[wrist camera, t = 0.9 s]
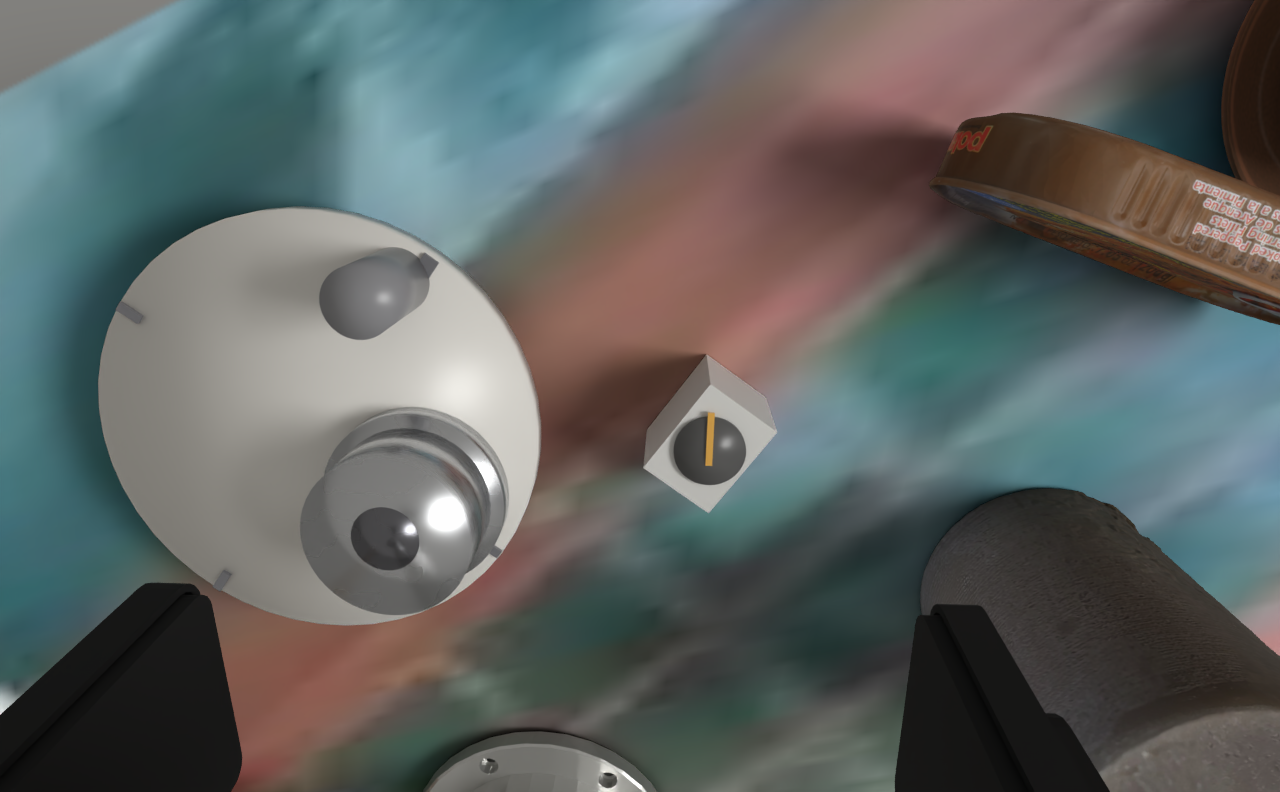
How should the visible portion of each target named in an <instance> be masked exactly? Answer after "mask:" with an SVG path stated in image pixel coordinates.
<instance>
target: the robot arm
mask: <svg viewBox="0 0 1280 792" xmlns="http://www.w3.org/2000/svg"><path fill="white" fill-rule="evenodd" d="M241 766H242V752H241V747H240V742H239V737H238V732H237V727H236V722H235V717H234V712H233V707H232V702H231V697H230V692H229V687H228V682H227V677H226V672H225V667H224V662H223V657H222V653H221V648H220V643H219V638H218V633H217V628H216V623H215V618H214V613H213V608H212V604H211V601H210V599H209V598H208V597H207V596H205V595H200V592H199V590H198V589H197V587H196V586H194V585H192V584H181V583H147V584H144V585H143V586H141V587H140V588H138V589H137V590H136V591H135V592H134V593H133V594H132V595H131V596H130V597H129V598H128V599H126V600H125V601H124V602H123V603H122V604H121V605H120V606H119V607H118V608H117V609H115V610H114V611H113V612H112V613H111V614H110V615H109V616H108V617H107V618H106V619H105V620H103V621H102V622H101V623H100V624H99V625H98V626H97V627H96V628H95V629H94V630H93V631H91V632H90V633H89V634H88V635H87V636H86V637H85V638H84V639H83V640H82V641H81V642H79V643H78V644H77V645H76V646H75V647H74V648H73V649H72V650H71V651H70V652H69V653H67V654H66V655H65V656H64V657H63V658H62V659H61V660H60V661H59V662H58V663H56V664H55V665H54V666H53V667H52V668H51V669H50V670H49V671H48V672H47V673H46V674H44V675H43V676H42V677H41V678H40V679H39V680H38V681H37V682H36V683H35V684H34V685H32V686H31V687H30V688H29V689H28V690H27V691H26V692H25V693H24V694H23V695H22V696H20V697H19V698H18V699H17V700H16V701H15V702H14V703H13V704H12V705H11V706H9V707H8V708H7V709H6V710H5V711H4V712H3V713H2V714H1V715H0V792H231V790H232V789H233V787H234V785H235V784H236V782H237V780H238V777H239V774H240V770H241ZM423 792H657V791H656V789H655V788H654V787H653V785H652V784H651V782H650V781H649V780H648V779H647V778H646V777H645V776H644V775H643V774H642V773H641V772H640V771H639V770H638V769H637V768H636V767H635V766H634V765H632V764H631V763H629V762H628V761H627V760H625V759H624V758H622V757H621V756H619V755H618V754H616V753H615V752H613V751H611V750H609V749H607V748H604V747H602V746H600V745H598V744H596V743H594V742H592V741H588V740H585V739H581V738H578V737H574V736H570V735H567V734H559V733H551V732H542V731H536V732H515V733H510V734H505V735H500V736H495V737H491V738H488V739H486V740H483V741H481V742H478V743H476V744H473V745H471V746H468V747H467V748H465V749H464V750H462V751H460V752H459V753H457V754H456V755H454V756H453V757H451V758H450V759H449V760H448V761H447V762H446V763H444V764H443V765H442V766H441V767H440V768H439V769H438V770H437V771H436V772H435V773H434V775H433V776H432V778H431V779H430V781H429V783H428V784H427V786H426V787H425V789H424V790H423ZM895 792H1110V791H1109V789H1108V787H1107V786H1106V784H1105V782H1104V781H1103V779H1102V777H1101V776H1100V774H1099V773H1098V771H1097V769H1096V768H1095V766H1094V764H1093V763H1092V761H1091V760H1090V758H1089V756H1088V755H1087V753H1086V751H1085V750H1084V748H1083V747H1082V745H1081V743H1080V742H1079V740H1078V738H1077V737H1076V735H1075V734H1074V732H1073V730H1072V729H1071V727H1070V726H1069V725H1068V723H1067V722H1066V721H1065V720H1064V718H1063V717H1061V716H1059V715H1057V714H1056V713H1045V712H1044V710H1043V708H1042V706H1041V705H1040V703H1039V701H1038V700H1037V698H1036V696H1035V694H1034V693H1033V691H1032V689H1031V688H1030V686H1029V684H1028V683H1027V681H1026V679H1025V677H1024V676H1023V674H1022V672H1021V671H1020V669H1019V667H1018V666H1017V664H1016V662H1015V660H1014V659H1013V657H1012V655H1011V654H1010V652H1009V650H1008V649H1007V647H1006V645H1005V643H1004V642H1003V640H1002V638H1001V637H1000V635H999V633H998V631H997V630H996V628H995V626H994V625H993V623H992V621H991V620H990V618H989V616H988V614H987V613H986V611H985V610H984V609H983V607H982V606H979V605H960V604H935V605H934V606H933V607H932V609H931V612H930V615H919V616H918V618H917V620H916V625H915V632H914V640H913V647H912V655H911V662H910V670H909V677H908V685H907V692H906V700H905V707H904V715H903V722H902V730H901V737H900V745H899V752H898V760H897V767H896V774H895Z"/></svg>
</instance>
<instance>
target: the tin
mask: <svg viewBox="0 0 1280 792" xmlns="http://www.w3.org/2000/svg"><path fill="white" fill-rule="evenodd" d="M929 186H930V188H931V189H932V190H933V191H934V192H936V193H937V194H939V195H940V196H941V197H943V198H944V199H946V200H948V201H950V202H951V203H953V204H955V205H958V206H960V207H962V208H964V209H967V210H969V211H971V212H973V213H976V214H979V215H982V216H984V217H986V218H988V219H991V220H993V221H996V222H998V223H1000V224H1003V225H1006V226H1008V227H1011V228H1013V229H1016V230H1018V231H1022V232H1024V233H1026V234H1029V235H1031V236H1034V237H1036V238H1039V239H1042V240H1045V241H1047V242H1050V243H1052V244H1055V245H1057V246H1060V247H1063V248H1065V249H1068V250H1070V251H1073V252H1075V253H1078V254H1081V255H1083V256H1086V257H1088V258H1091V259H1093V260H1096V261H1098V262H1101V263H1104V264H1106V265H1109V266H1111V267H1114V268H1117V269H1119V270H1122V271H1124V272H1127V273H1129V274H1132V275H1134V276H1137V277H1139V278H1142V279H1145V280H1147V281H1150V282H1153V283H1155V284H1158V285H1161V286H1163V287H1166V288H1168V289H1171V290H1174V291H1176V292H1179V293H1182V294H1185V295H1188V296H1191V297H1194V298H1197V299H1200V300H1202V301H1205V302H1208V303H1210V304H1213V305H1216V306H1219V307H1222V308H1225V309H1228V310H1231V311H1234V312H1238V313H1241V314H1244V315H1247V316H1250V317H1254V318H1257V319H1260V320H1264V321H1267V322H1270V323H1274V324H1278V325H1280V196H1279V195H1276V194H1273V193H1271V192H1268V191H1266V190H1263V189H1261V188H1258V187H1255V186H1253V185H1250V184H1248V183H1245V182H1243V181H1241V180H1238V179H1236V178H1233V177H1230V176H1228V175H1225V174H1222V173H1220V172H1217V171H1214V170H1212V169H1209V168H1207V167H1204V166H1202V165H1200V164H1197V163H1194V162H1191V161H1189V160H1186V159H1183V158H1181V157H1178V156H1176V155H1173V154H1170V153H1168V152H1165V151H1162V150H1160V149H1157V148H1155V147H1152V146H1150V145H1147V144H1144V143H1141V142H1138V141H1135V140H1132V139H1129V138H1126V137H1123V136H1120V135H1116V134H1113V133H1110V132H1107V131H1103V130H1100V129H1096V128H1093V127H1089V126H1086V125H1082V124H1077V123H1073V122H1068V121H1064V120H1060V119H1055V118H1050V117H1044V116H1038V115H1032V114H1022V113H1000V114H997V115H993V116H987V117H977V118H971V119H968V120H966V121H964V122H962V123H961V125H960V126H959V128H958V130H957V131H956V133H955V135H954V137H953V140H952V142H951V144H950V146H949V148H948V151H947V153H946V155H945V158H944V160H943V162H942V165H941V167H940V169H939V171H938V173H937V175H936V177H935V178H933V179H932V180H931V181H930V183H929Z"/></svg>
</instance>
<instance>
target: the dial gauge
mask: <svg viewBox="0 0 1280 792" xmlns="http://www.w3.org/2000/svg"><path fill="white" fill-rule="evenodd" d="M776 433H777V430H776V427H775V424H774V421H773V418H772V415H771V412H770V409H769V406H768V403H767V399H766V397H765V396H763V395H762V394H760V393H759V392H758V391H756V390H755V389H754V388H752V387H751V386H749V385H748V384H747V383H745V382H744V381H743V380H741V379H740V378H738V377H737V376H736V375H734V374H733V373H732V372H730V371H729V370H728V369H726V368H725V367H723V366H722V365H721V364H719V363H718V362H717V361H715V360H714V359H712V358H711V357H710V356H708V355H707V354H706V356H705V357H704V358H703V359H702V361H701V362H700V363H699V364H698V366H697V367H696V368H695V370H694V371H693V372H692V373H691V375H690V376H689V377H688V378H687V380H686V381H685V382H684V383H683V385H682V386H681V387H680V389H679V390H678V391H677V392H676V394H675V395H674V396H673V397H672V399H671V400H670V401H669V402H668V404H667V405H666V406H665V407H664V409H663V410H662V411H661V413H660V414H659V415H658V416H657V418H656V419H655V420H654V421H653V423H652V424H651V425H650V426H649V428H648V429H647V434H646V444H645V455H644V466H643V468H644V469H646V470H647V471H648V472H650V473H651V474H653V475H654V476H656V477H657V478H659V479H660V480H661V481H663V482H664V483H666V484H667V485H669V486H670V487H672V488H673V489H674V490H676V491H677V492H679V493H680V494H682V495H683V496H685V497H686V498H687V499H689V500H690V501H692V502H693V503H695V504H696V505H698V506H699V507H700V508H702V509H703V510H705V511H706V512H708V513H709V512H710V511H711V510H712V509H713V508H714V506H715V505H716V504H717V503H718V502H719V500H720V499H721V498H722V497H723V496H724V495H725V493H726V492H727V491H728V490H729V489H730V487H731V486H732V485H733V484H734V483H735V482H736V480H737V479H738V478H739V477H740V476H741V475H742V473H743V472H744V471H745V470H746V469H747V467H748V466H749V465H750V464H751V463H752V462H753V460H754V459H755V458H756V457H757V456H758V455H759V453H760V452H761V451H762V450H763V449H764V447H765V446H766V445H767V444H768V443H769V442H770V440H771V439H772V438H773V437H774V436H775V434H776Z"/></svg>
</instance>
